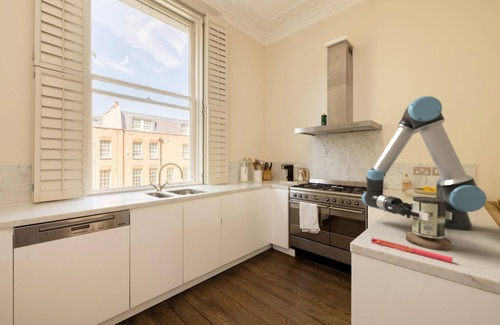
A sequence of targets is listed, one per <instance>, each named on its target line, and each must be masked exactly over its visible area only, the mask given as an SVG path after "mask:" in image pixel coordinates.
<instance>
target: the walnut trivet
mask: <svg viewBox="0 0 500 325" xmlns="http://www.w3.org/2000/svg"><path fill="white" fill-rule="evenodd" d="M405 240H406V242H408V243H410V244H412V245H414V246H418V247H421V248H425V249H429V250H436V251H450V250H452V243H453V242H452V241H451V240H450V239H448V238H446V237H445V238H442V239H436V238H428V237H423V236H420V235H417V234H415V233H413V232H412V231H409V232H406V234H405Z"/></svg>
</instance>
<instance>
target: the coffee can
mask: <svg viewBox="0 0 500 325" xmlns="http://www.w3.org/2000/svg"><path fill="white" fill-rule="evenodd" d="M412 204H413V210H416V211H420V212H424V213H428V214H429V221H425V220H422V219H418V218H415V217H412V222H411V223H412V227H411V230H412V231H411V232H413V233H415V234H417V235H420V236H423V237H428V238H436V239H442V238H446V227H445V212H446V200H444V199H439V198H436V197H432V196H430V197H429V196H412Z"/></svg>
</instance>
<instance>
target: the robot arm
mask: <svg viewBox="0 0 500 325" xmlns="http://www.w3.org/2000/svg"><path fill="white" fill-rule="evenodd" d="M442 111H443V104H442V102H441V101H440V99H438V98H437V97H434V96H430V95H425V96H421V97H418V98H416V99H414V100H413V101H411V103H409V105H408V106H407V107H406V109H405V110H404V112H403V114H402V117H401V119H400V121H399V122H398V124H397V129H396V130H395V132H394V134H393V135H392V137H391V139H389V141H388V143H387V144H386V146H385V147H384V150H382V152H381V154H380V155H379V157H378V158H377V160H376V161H375V163H374V164H373V166H372V167H371V169H368V170H367V171H366V172H367V173H366V176H365V181H366V191H365V192H363V194H362V195H361V201H362V203H363V204H364V205H366V206H368V207H370V208H374V209H378V210H381V211H383V212H384V213H386V212H388V213H391V214H395V215H399V216H402V217H406V218H408V219H410V218H411V217H412V218H413V217H415V218H418V219H422V220H425V221H429V214H428V213H424V212H420V211H416V210H413V203H408V202H404V201H403V200H402V198H400V197H396V196H392V195H387V194H384V184H385V183H384V182H385V180H384V179H385V176H386V175H387V173H388V172H389V171H390V170H391V168H392V166H393V164H394V163H395V162H396V160H397V159H398V157H399V156H400V154H401V153H402V151H403V150H404V148H405V147H406V146H407V144H408V142H409V141H410V140H411V138H412V137H413V135H415V134H417V133H420V136H421V138H422V140H423V142H424V145H425V146H426V149H427V151H428V153H429V155H430V157H431V159H432V162H433V164H434V165H435V168H436V170H437V172H438V174H439V177H440V179H438V180H437V181H436V185H435V186H436V190H435V191H436V192H435V193H436V195H435V198H439V199H444V200H446V212H445V229H447V228H448V229H454V230H461V231H469V230H472V229H473V223H472V221H471V219H470V216H469V214H468V213H472V212H473V213H474V212H476V211H479V210H481V209H482V208H484V206H485V205H486V203H487V195H486V193H485V191H484V190H483V189H482V188H480V187H478V185H477V183H476V181H475V179H474V177H473V176H472V175H469V174H467V173H466V172H465V169H464V168H463V165H462V163H461V161H460V158H459V157H458V154H457V153H456V149H454V146H453V144H452V142H451V140H450V137H449V136H448V134H447V132H446V129H445V127H444V125H443V124H444V123H445V117H444V115H443V113H442Z"/></svg>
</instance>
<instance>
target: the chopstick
mask: <svg viewBox="0 0 500 325" xmlns="http://www.w3.org/2000/svg"><path fill="white" fill-rule="evenodd" d="M370 242H371V243H373V244H377V245H381V246H385V247H388V248H393V249H396V250H400V251H403V252H407V253H408V252H410V253H412V254H415V255H419V256H422V257H427V258H431V259H435V260H437V261H440V262H441V261H442V262H446V263H449V264H453V259H454V257H452V256H448V255H444V254H440V253H436V252H432V251H428V250H424V249H420V248H418V247H413V246H408V245H404V244H400V243H396V242H392V241H390V240H389V241H388V240H385V239H381V238H374V237H371V241H370Z"/></svg>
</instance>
